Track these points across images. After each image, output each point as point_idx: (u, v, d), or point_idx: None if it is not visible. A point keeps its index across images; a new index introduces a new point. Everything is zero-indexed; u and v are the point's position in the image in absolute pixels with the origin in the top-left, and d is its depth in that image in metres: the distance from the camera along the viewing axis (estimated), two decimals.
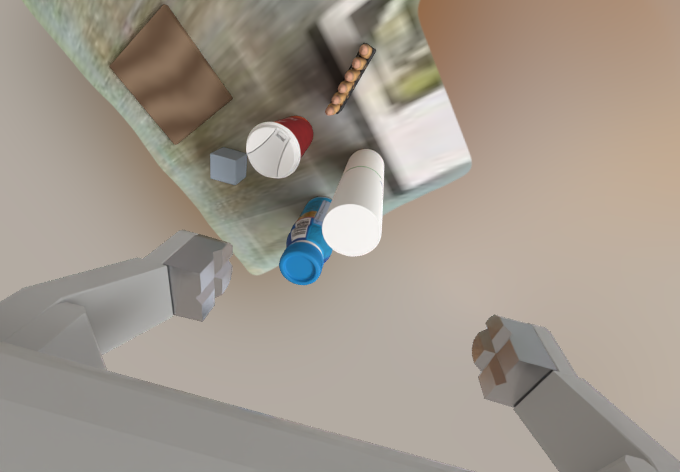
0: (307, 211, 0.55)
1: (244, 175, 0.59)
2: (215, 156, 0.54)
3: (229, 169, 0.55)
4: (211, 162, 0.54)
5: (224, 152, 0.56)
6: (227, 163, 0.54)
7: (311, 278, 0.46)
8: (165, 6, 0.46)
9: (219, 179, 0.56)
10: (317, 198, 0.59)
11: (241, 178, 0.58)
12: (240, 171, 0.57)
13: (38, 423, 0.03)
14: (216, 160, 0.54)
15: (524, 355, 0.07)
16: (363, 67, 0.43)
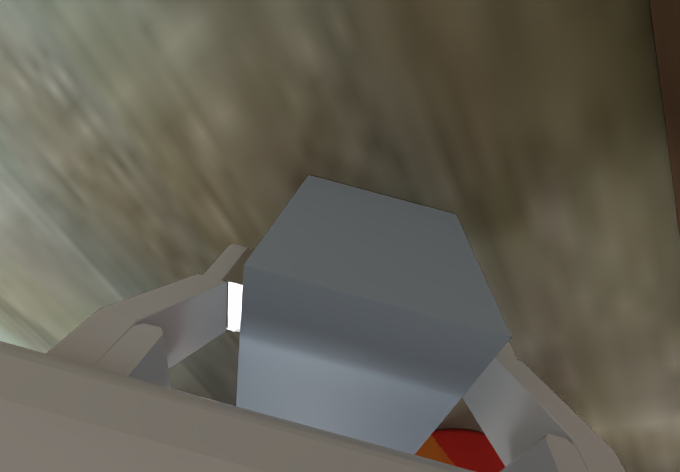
0: None
1: None
2: (467, 364, 0.06)
3: (350, 411, 0.07)
4: (416, 319, 0.05)
5: None
6: (397, 414, 0.07)
7: None
8: None
9: (253, 333, 0.06)
10: None
11: None
12: None
13: (38, 423, 0.03)
14: (431, 362, 0.06)
15: None
16: None
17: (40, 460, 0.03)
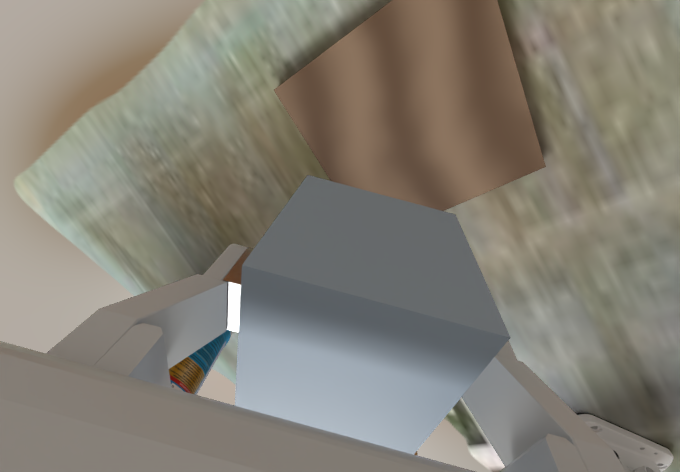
0: (199, 360, 0.34)
1: None
2: (466, 364, 0.06)
3: (349, 411, 0.07)
4: (414, 318, 0.05)
5: None
6: (395, 415, 0.07)
7: None
8: None
9: (252, 333, 0.06)
10: None
11: None
12: None
13: (38, 423, 0.03)
14: (429, 362, 0.06)
15: None
16: None
17: (40, 460, 0.03)
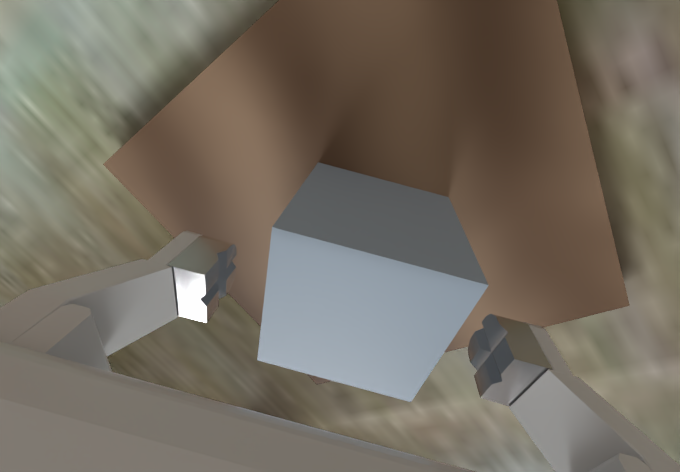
0: None
1: None
2: (454, 312, 0.07)
3: (356, 360, 0.08)
4: (411, 271, 0.07)
5: None
6: (396, 362, 0.08)
7: None
8: None
9: (276, 288, 0.07)
10: None
11: None
12: None
13: (38, 423, 0.03)
14: (424, 310, 0.07)
15: (519, 354, 0.07)
16: None
17: (40, 460, 0.03)
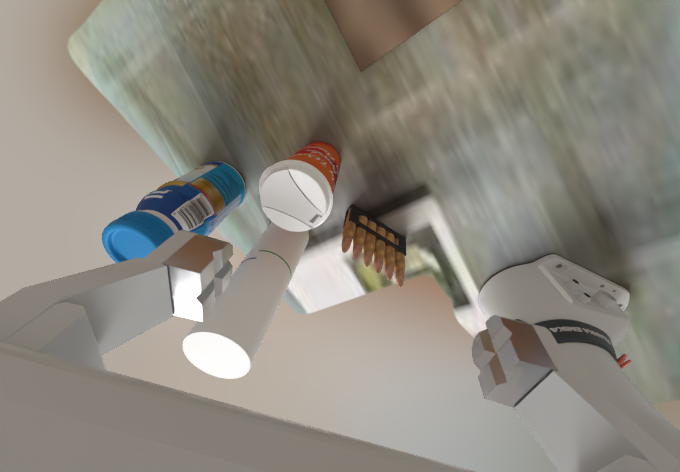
0: (221, 191, 0.40)
1: None
2: None
3: None
4: None
5: None
6: None
7: None
8: None
9: None
10: (241, 183, 0.45)
11: None
12: None
13: (38, 423, 0.03)
14: None
15: (524, 355, 0.07)
16: None
17: (39, 460, 0.03)
